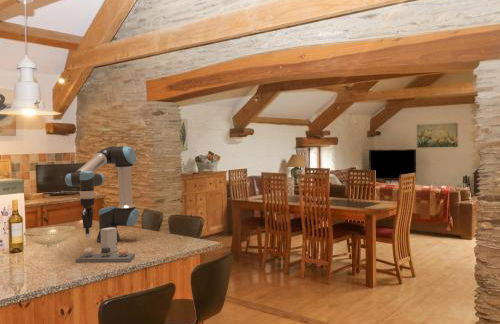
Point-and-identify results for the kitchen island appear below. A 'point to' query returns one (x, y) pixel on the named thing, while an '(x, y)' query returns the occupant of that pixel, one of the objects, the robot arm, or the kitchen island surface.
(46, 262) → the kitchen island surface
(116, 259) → the button board
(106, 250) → the button black
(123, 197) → the robot arm
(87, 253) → the button cream
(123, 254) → the button terracotta
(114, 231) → the skincare box
